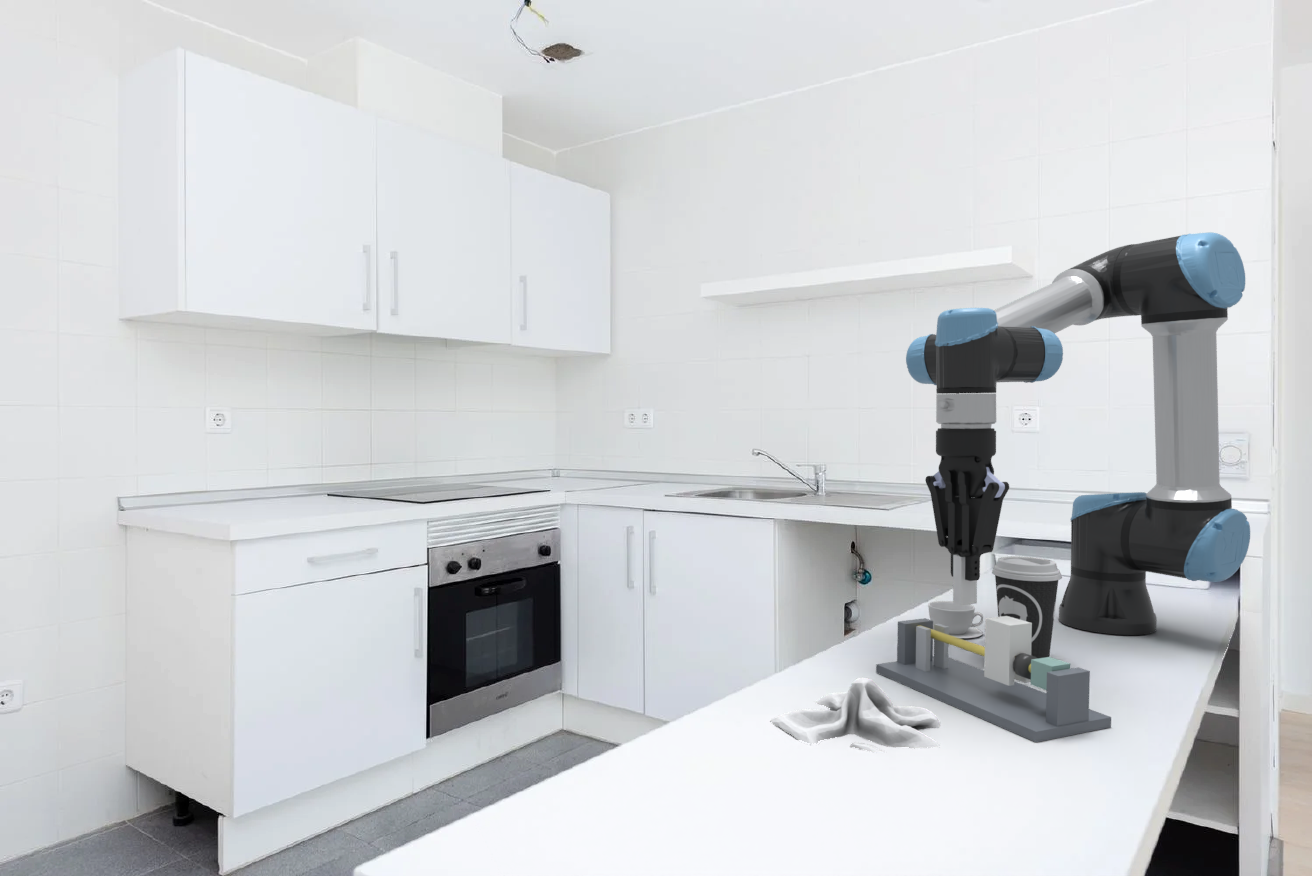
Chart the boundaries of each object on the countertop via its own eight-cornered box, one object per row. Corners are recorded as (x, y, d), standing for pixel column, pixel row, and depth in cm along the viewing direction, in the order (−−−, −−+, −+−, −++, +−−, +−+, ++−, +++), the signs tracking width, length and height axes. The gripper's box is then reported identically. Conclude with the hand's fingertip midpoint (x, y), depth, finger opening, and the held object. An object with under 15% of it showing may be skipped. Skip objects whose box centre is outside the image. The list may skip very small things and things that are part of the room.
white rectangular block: (984, 676, 110) (985, 618, 109) (1005, 673, 111) (1006, 615, 111) (1008, 685, 106) (1010, 625, 106) (1030, 682, 107) (1031, 623, 107)
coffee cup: (1067, 673, 123) (1070, 568, 123) (996, 668, 125) (998, 565, 125) (1051, 654, 132) (1053, 556, 132) (985, 650, 134) (986, 554, 134)
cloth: (750, 739, 99) (751, 685, 99) (811, 694, 115) (812, 648, 115) (951, 783, 88) (952, 723, 87) (988, 727, 103) (989, 676, 103)
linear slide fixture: (876, 672, 123) (877, 619, 122) (942, 663, 127) (943, 612, 127) (1035, 742, 97) (1037, 676, 97) (1111, 727, 102) (1112, 663, 102)
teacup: (917, 637, 143) (918, 609, 143) (922, 623, 152) (922, 597, 152) (982, 643, 139) (982, 614, 139) (983, 629, 148) (983, 602, 148)
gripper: (910, 426, 119) (909, 596, 120) (981, 428, 107) (980, 617, 108) (952, 424, 122) (951, 591, 123) (1025, 426, 110) (1024, 610, 111)
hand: (964, 603), depth 116 cm, fingers closed
